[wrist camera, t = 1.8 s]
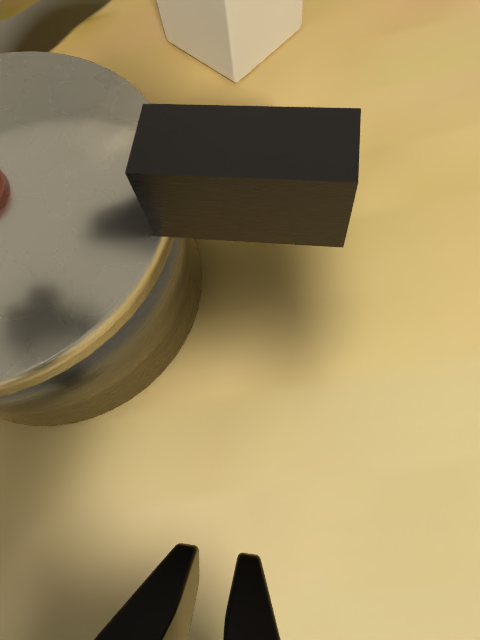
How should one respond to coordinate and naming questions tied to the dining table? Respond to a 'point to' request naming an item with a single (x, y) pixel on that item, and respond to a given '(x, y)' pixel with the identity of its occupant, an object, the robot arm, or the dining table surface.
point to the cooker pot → (120, 352)
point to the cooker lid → (140, 197)
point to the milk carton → (230, 30)
